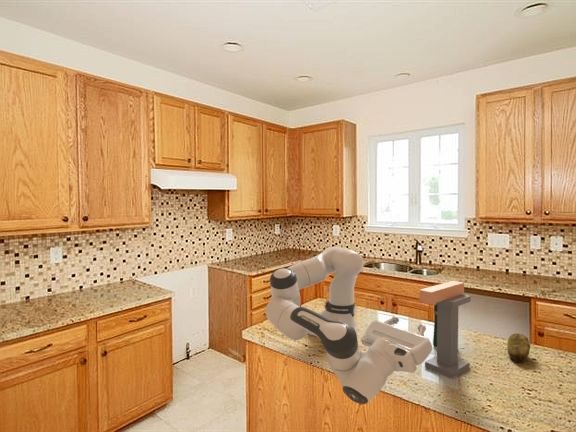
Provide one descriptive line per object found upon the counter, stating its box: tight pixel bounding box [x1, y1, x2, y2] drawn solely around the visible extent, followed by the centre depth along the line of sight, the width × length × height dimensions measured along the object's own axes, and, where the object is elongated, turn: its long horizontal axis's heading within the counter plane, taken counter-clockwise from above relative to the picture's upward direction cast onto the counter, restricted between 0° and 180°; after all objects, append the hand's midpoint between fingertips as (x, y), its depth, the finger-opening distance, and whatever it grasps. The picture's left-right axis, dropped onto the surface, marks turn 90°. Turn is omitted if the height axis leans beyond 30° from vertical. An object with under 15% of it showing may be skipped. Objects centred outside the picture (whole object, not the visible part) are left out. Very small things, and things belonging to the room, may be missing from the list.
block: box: [419, 280, 465, 305], centre depth 116 cm, size 22×4×4 cm, turn 126°
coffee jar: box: [432, 303, 437, 348], centre depth 136 cm, size 10×8×19 cm
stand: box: [424, 294, 472, 379], centre depth 119 cm, size 12×10×26 cm
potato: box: [506, 333, 531, 363], centre depth 127 cm, size 8×13×8 cm, turn 129°
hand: (409, 321), depth 105 cm, fingers open, 8 cm apart
